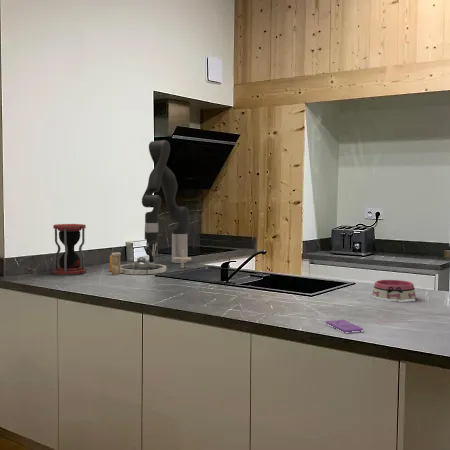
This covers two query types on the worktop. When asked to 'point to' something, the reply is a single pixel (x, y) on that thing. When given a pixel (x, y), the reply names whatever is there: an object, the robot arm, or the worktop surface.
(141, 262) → the cover
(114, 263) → the gauge stand
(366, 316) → the worktop surface
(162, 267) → the ring
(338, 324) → the sponges
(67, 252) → the hourglass
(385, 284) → the dog bowl
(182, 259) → the pipe connector
